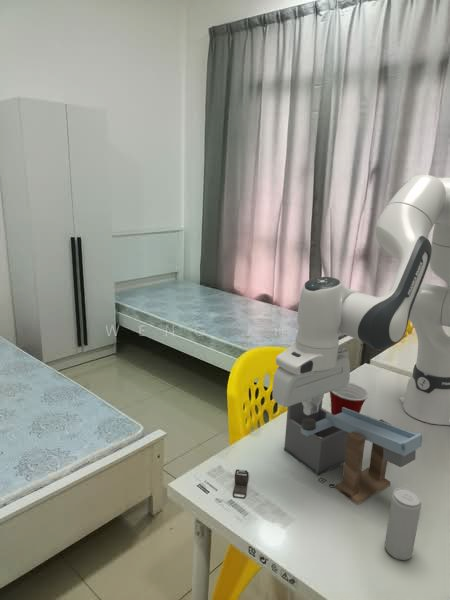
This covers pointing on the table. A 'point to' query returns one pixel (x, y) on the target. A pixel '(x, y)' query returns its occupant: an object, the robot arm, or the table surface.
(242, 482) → the grey hinged case
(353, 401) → the plastic cup
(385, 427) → the lever
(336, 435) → the bin
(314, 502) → the table surface
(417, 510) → the beverage can
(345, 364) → the robot arm
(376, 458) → the stand
